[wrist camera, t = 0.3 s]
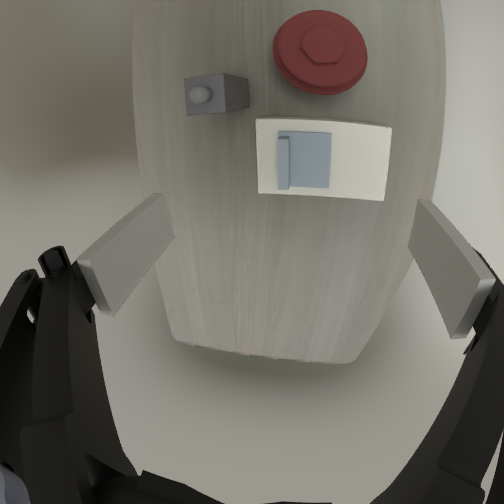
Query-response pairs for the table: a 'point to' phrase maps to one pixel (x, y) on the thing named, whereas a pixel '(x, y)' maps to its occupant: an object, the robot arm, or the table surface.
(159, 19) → the table surface
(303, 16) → the mechanical component
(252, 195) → the table surface
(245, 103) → the plug
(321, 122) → the socket
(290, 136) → the panel
